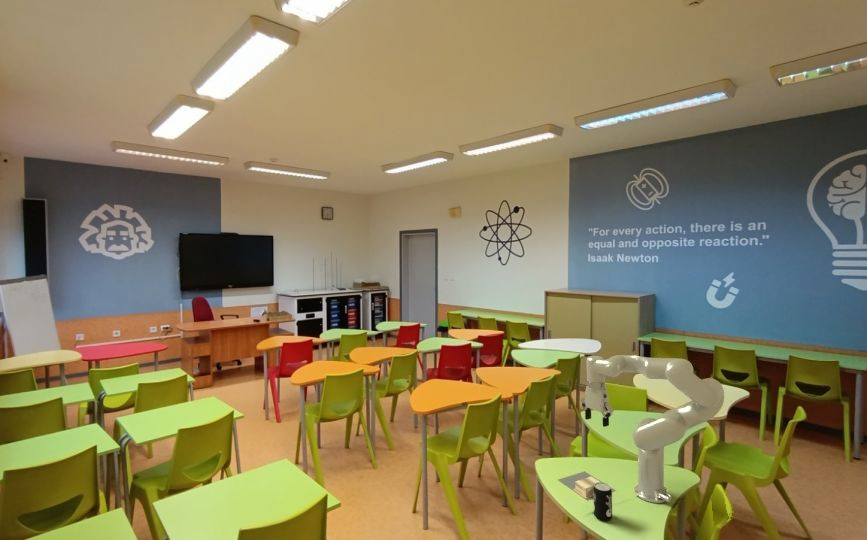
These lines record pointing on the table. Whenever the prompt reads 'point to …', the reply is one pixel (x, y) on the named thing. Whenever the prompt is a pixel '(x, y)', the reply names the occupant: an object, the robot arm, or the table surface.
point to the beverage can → (602, 501)
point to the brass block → (586, 486)
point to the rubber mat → (571, 480)
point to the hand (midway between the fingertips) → (596, 422)
